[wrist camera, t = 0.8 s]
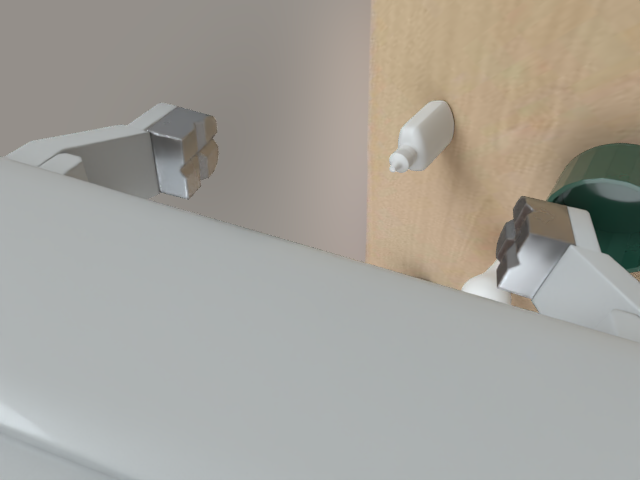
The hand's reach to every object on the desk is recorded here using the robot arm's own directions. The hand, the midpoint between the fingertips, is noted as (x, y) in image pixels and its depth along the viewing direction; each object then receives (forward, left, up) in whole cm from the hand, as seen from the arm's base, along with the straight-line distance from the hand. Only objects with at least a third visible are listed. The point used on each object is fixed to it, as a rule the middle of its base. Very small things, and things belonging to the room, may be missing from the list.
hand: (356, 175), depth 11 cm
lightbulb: (+34, +17, -39) cm, 54 cm away
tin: (+17, +17, -39) cm, 45 cm away
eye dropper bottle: (+24, -2, -39) cm, 45 cm away
